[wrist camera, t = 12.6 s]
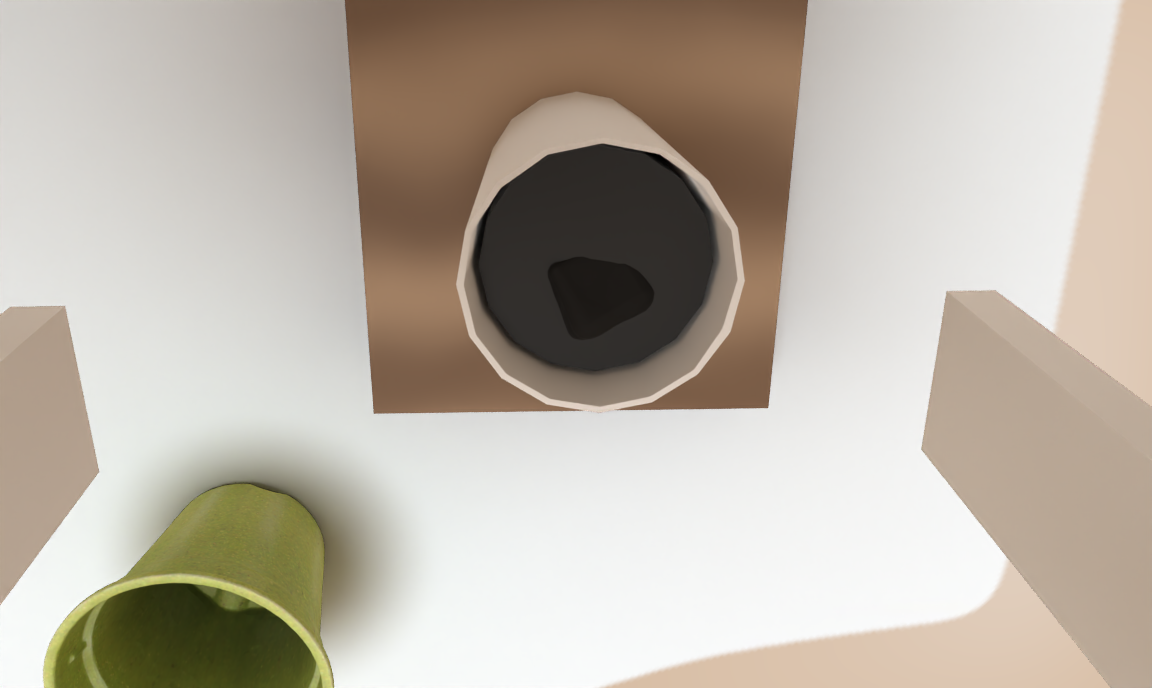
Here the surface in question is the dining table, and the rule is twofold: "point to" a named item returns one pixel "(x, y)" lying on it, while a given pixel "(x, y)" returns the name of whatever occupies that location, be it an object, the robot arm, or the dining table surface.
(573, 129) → the beige hollow cylinder
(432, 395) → the walnut riser block
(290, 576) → the plant pot
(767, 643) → the dining table surface
